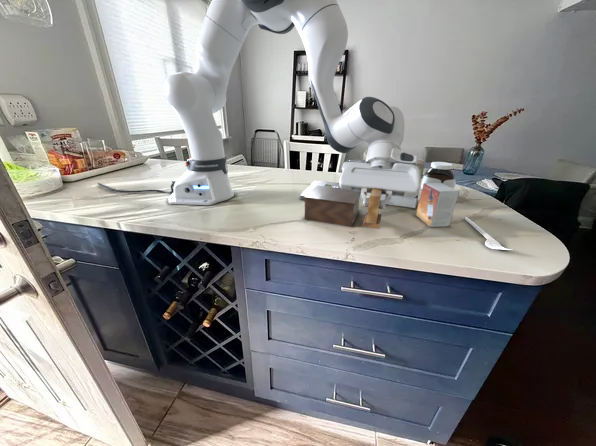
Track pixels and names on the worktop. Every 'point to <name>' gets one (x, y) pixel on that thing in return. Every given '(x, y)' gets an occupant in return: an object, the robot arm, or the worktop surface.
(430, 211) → the small box
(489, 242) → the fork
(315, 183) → the play button award
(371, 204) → the wooden i-shaped block
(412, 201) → the tea box
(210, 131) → the robot arm
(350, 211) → the wooden box
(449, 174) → the spread jar
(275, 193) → the worktop surface
